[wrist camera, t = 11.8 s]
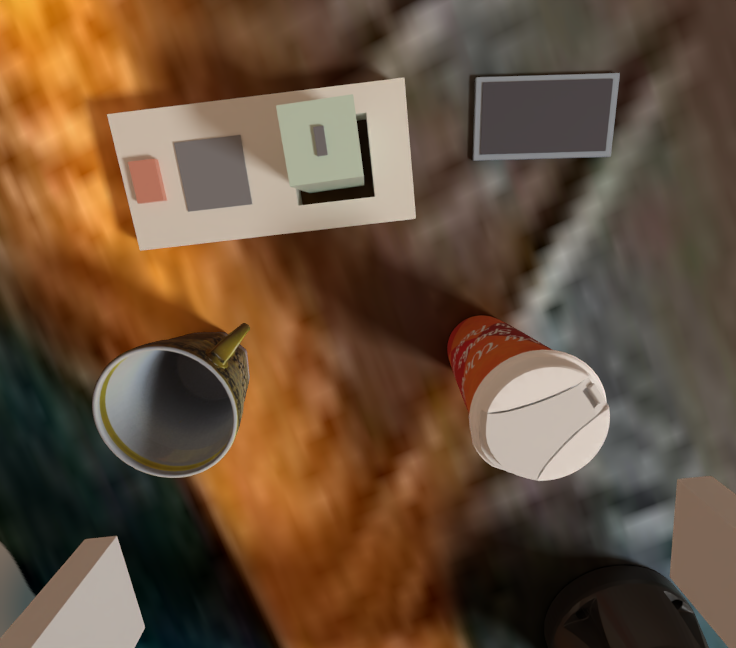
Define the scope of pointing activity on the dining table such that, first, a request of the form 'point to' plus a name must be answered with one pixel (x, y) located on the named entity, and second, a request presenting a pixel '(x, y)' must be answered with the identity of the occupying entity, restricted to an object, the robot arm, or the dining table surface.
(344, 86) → the power strip
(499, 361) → the coffee cup
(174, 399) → the ceramic cup
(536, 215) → the dining table surface
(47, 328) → the dining table surface
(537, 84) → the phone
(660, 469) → the dining table surface
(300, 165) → the block
